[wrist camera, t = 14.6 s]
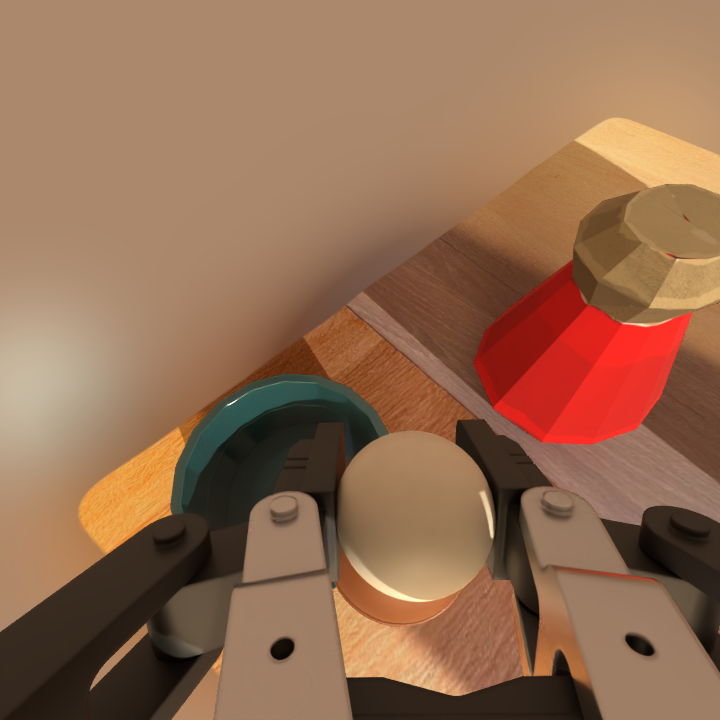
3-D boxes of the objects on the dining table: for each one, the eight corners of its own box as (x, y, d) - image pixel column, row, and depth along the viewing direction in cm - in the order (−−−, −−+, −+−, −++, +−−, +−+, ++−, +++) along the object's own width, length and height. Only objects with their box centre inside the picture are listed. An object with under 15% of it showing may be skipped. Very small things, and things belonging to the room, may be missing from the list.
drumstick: (398, 654, 14) (447, 783, 5) (306, 546, 16) (218, 497, 7) (481, 543, 16) (628, 490, 7) (389, 457, 18) (406, 326, 9)
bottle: (528, 500, 32) (708, 404, 15) (431, 376, 38) (478, 204, 21) (658, 408, 36) (928, 242, 18) (551, 308, 42) (677, 112, 24)
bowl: (300, 649, 28) (270, 676, 20) (186, 500, 33) (127, 475, 25) (428, 496, 32) (445, 470, 25) (311, 389, 38) (294, 338, 30)
